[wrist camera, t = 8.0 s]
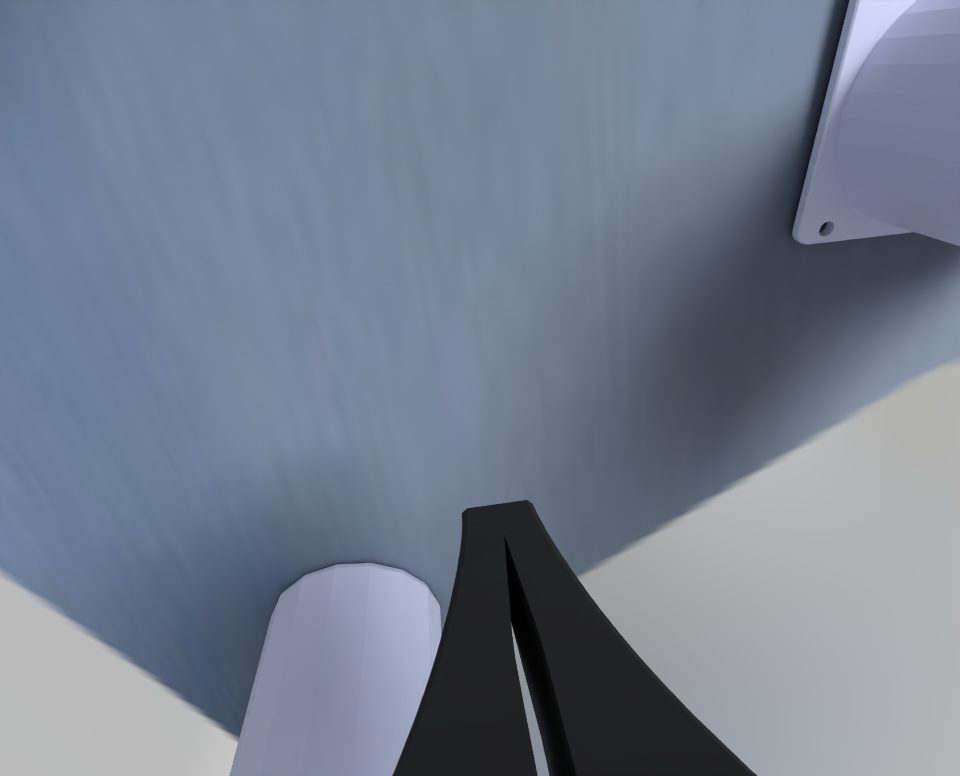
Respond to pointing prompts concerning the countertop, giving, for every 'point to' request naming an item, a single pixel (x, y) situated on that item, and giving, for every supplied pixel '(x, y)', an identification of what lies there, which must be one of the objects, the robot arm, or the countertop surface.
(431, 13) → the countertop surface
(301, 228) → the countertop surface
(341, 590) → the soap bottle
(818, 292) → the countertop surface
